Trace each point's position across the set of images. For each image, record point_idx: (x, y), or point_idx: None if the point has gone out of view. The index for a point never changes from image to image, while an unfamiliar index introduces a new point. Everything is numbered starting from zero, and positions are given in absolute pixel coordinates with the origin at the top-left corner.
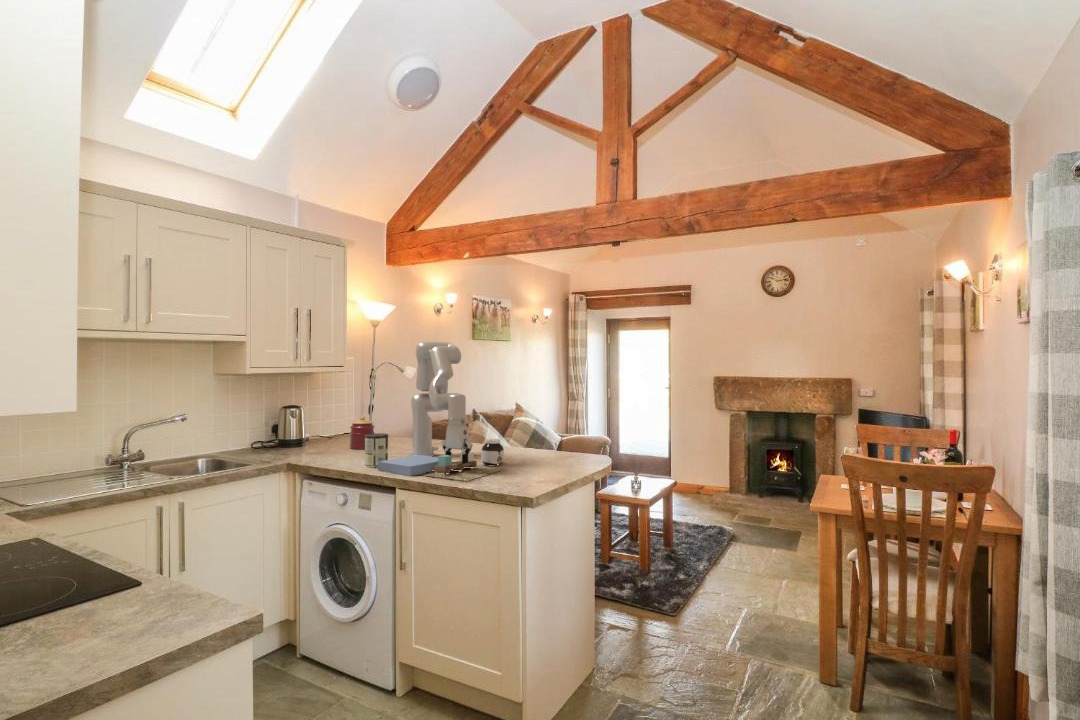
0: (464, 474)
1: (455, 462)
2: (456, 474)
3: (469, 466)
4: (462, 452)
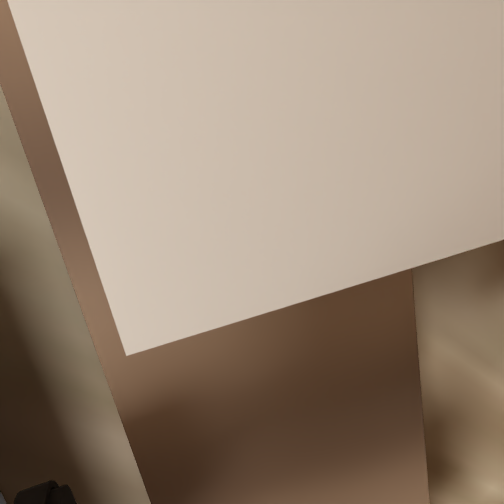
0: (495, 369)
1: (216, 421)
2: (429, 444)
3: None
4: (244, 312)
